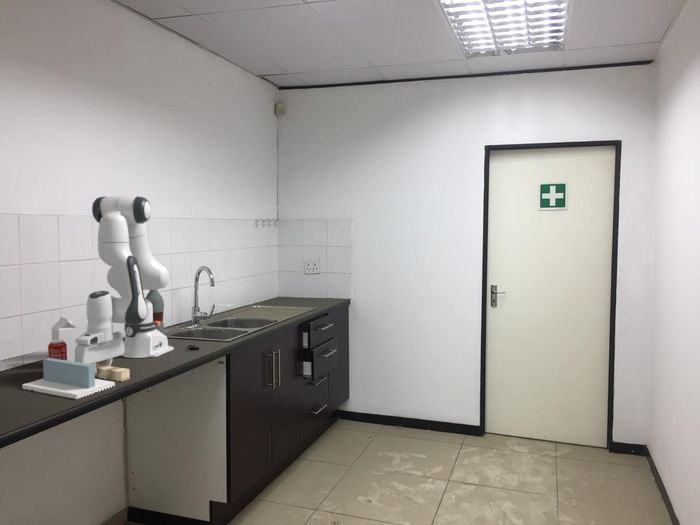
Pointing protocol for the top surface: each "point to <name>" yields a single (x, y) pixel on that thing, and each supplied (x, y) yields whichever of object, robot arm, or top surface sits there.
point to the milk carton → (66, 336)
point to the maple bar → (112, 373)
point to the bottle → (157, 308)
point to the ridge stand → (68, 379)
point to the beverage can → (57, 350)
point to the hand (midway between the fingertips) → (101, 372)
